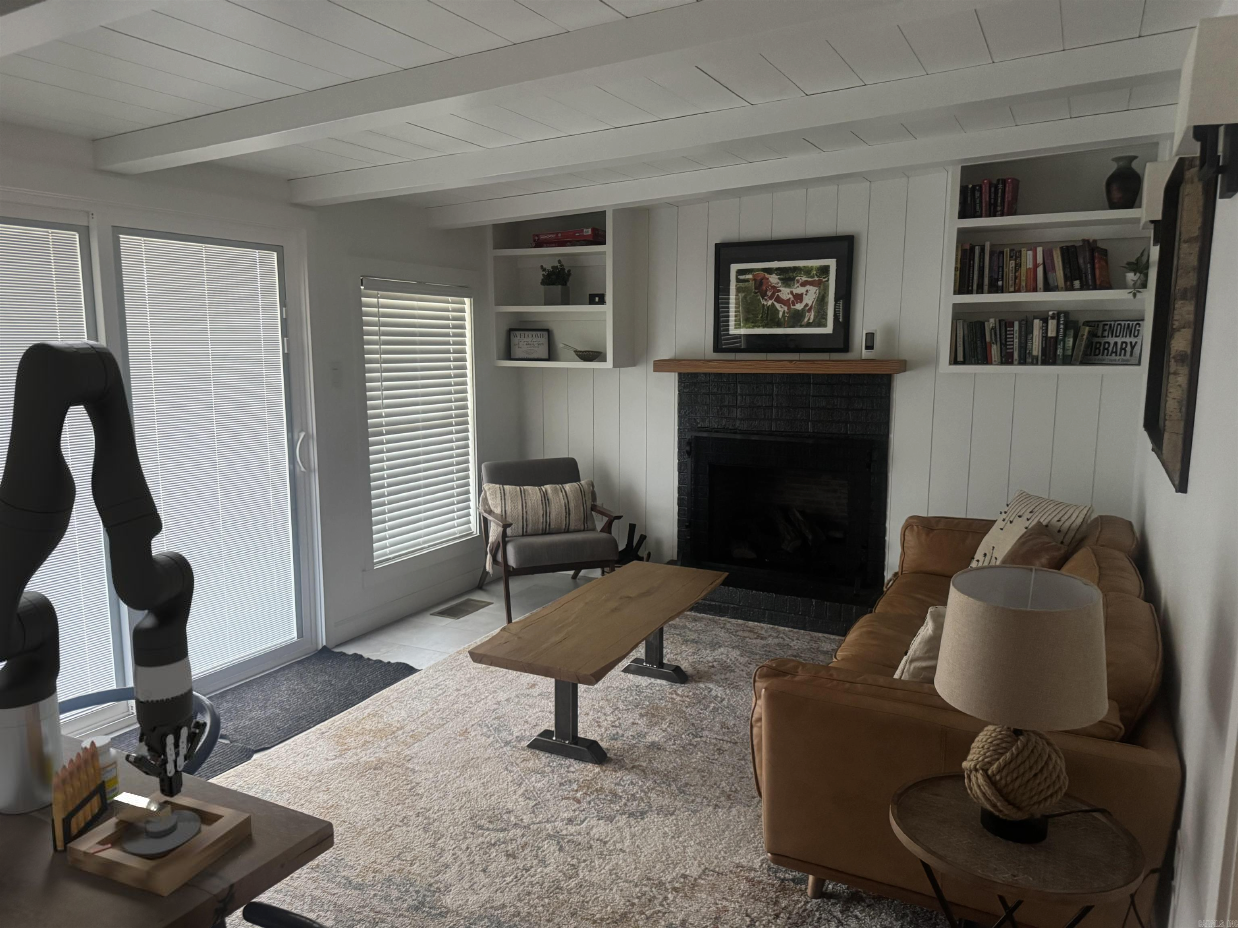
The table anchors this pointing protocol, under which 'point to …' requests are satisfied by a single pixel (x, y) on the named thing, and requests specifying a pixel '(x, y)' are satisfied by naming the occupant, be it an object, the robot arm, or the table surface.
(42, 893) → the table surface
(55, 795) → the ammunition clip
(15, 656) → the robot arm
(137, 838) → the dial
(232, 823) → the wooden tray
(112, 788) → the supplement bottle
